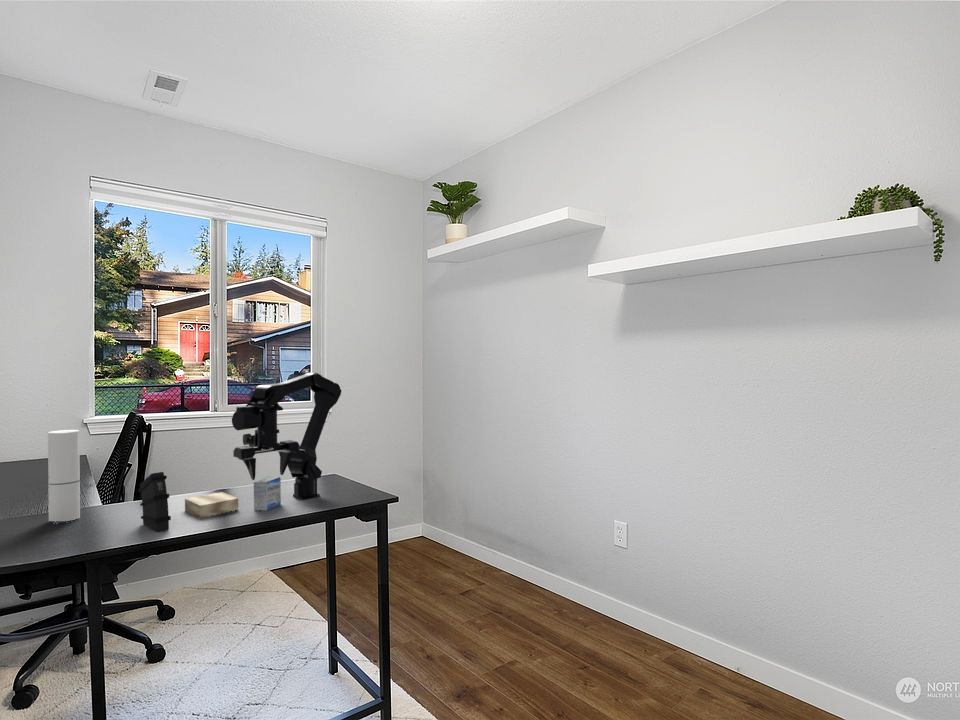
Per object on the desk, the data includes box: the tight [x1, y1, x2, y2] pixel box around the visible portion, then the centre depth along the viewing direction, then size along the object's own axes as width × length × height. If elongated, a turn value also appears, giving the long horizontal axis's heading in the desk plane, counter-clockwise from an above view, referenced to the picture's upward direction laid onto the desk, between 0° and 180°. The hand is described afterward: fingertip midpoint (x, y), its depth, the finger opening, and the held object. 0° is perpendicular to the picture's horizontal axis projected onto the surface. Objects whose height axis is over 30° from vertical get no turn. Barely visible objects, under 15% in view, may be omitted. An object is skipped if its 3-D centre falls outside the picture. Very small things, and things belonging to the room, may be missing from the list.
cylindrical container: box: [47, 429, 81, 522], centre depth 161 cm, size 7×7×25 cm
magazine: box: [138, 471, 172, 533], centre depth 155 cm, size 4×13×15 cm, turn 48°
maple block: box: [184, 491, 239, 519], centre depth 170 cm, size 11×11×4 cm
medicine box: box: [253, 476, 282, 512], centre depth 174 cm, size 8×4×9 cm, turn 168°
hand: (267, 477), depth 174 cm, fingers open, 9 cm apart
